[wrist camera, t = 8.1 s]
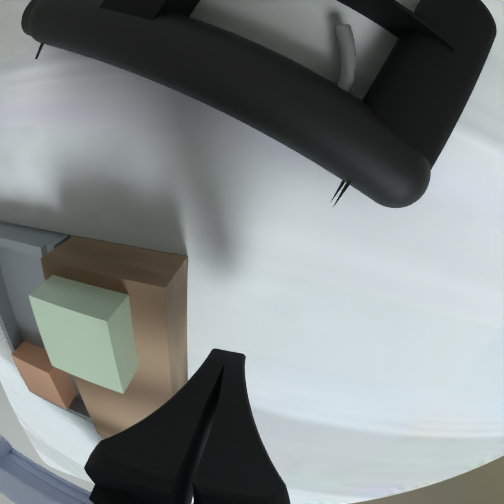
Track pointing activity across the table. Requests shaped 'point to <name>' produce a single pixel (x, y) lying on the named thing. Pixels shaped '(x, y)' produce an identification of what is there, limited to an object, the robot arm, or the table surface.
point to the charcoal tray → (26, 288)
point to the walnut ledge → (133, 323)
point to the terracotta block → (43, 375)
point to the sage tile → (86, 331)
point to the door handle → (301, 79)
